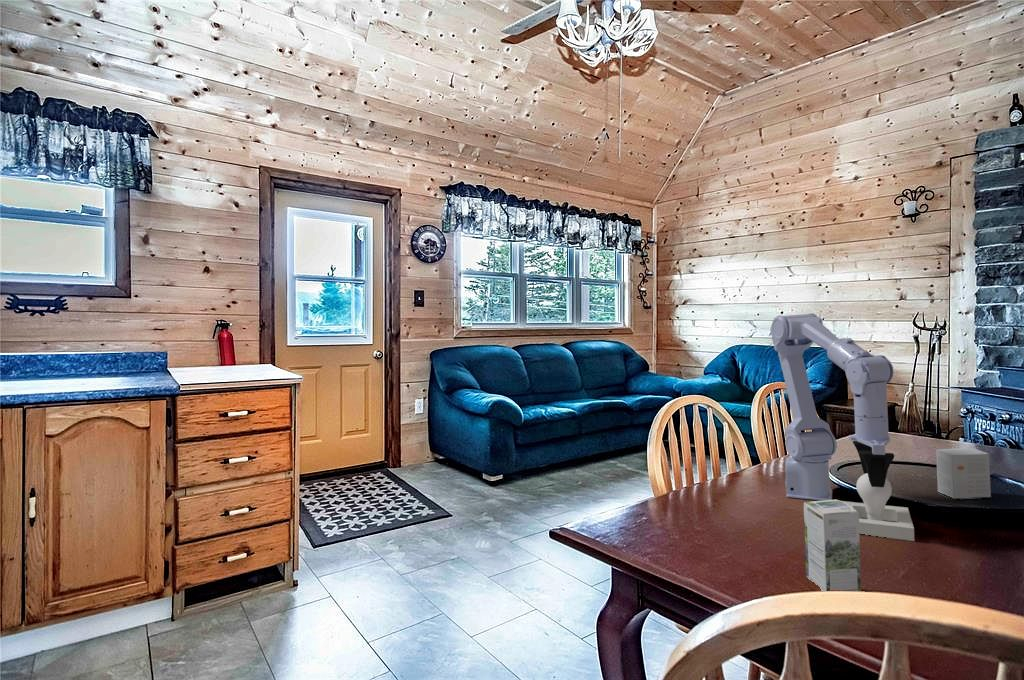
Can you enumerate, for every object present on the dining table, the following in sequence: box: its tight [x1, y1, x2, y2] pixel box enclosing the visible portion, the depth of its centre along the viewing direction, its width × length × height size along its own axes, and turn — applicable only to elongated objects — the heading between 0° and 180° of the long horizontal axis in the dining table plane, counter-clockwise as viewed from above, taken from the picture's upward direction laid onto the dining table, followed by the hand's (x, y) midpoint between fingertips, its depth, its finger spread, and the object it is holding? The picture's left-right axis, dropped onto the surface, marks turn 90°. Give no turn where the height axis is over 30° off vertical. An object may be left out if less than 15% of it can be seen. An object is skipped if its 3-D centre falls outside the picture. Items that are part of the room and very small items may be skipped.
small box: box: [935, 447, 992, 498], centre depth 126 cm, size 8×6×10 cm
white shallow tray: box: [841, 500, 915, 542], centre depth 113 cm, size 12×12×2 cm
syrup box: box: [803, 499, 862, 592], centre depth 89 cm, size 6×6×14 cm
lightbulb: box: [855, 473, 893, 521], centre depth 113 cm, size 6×6×11 cm
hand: (873, 480), depth 113 cm, fingers open, 7 cm apart
